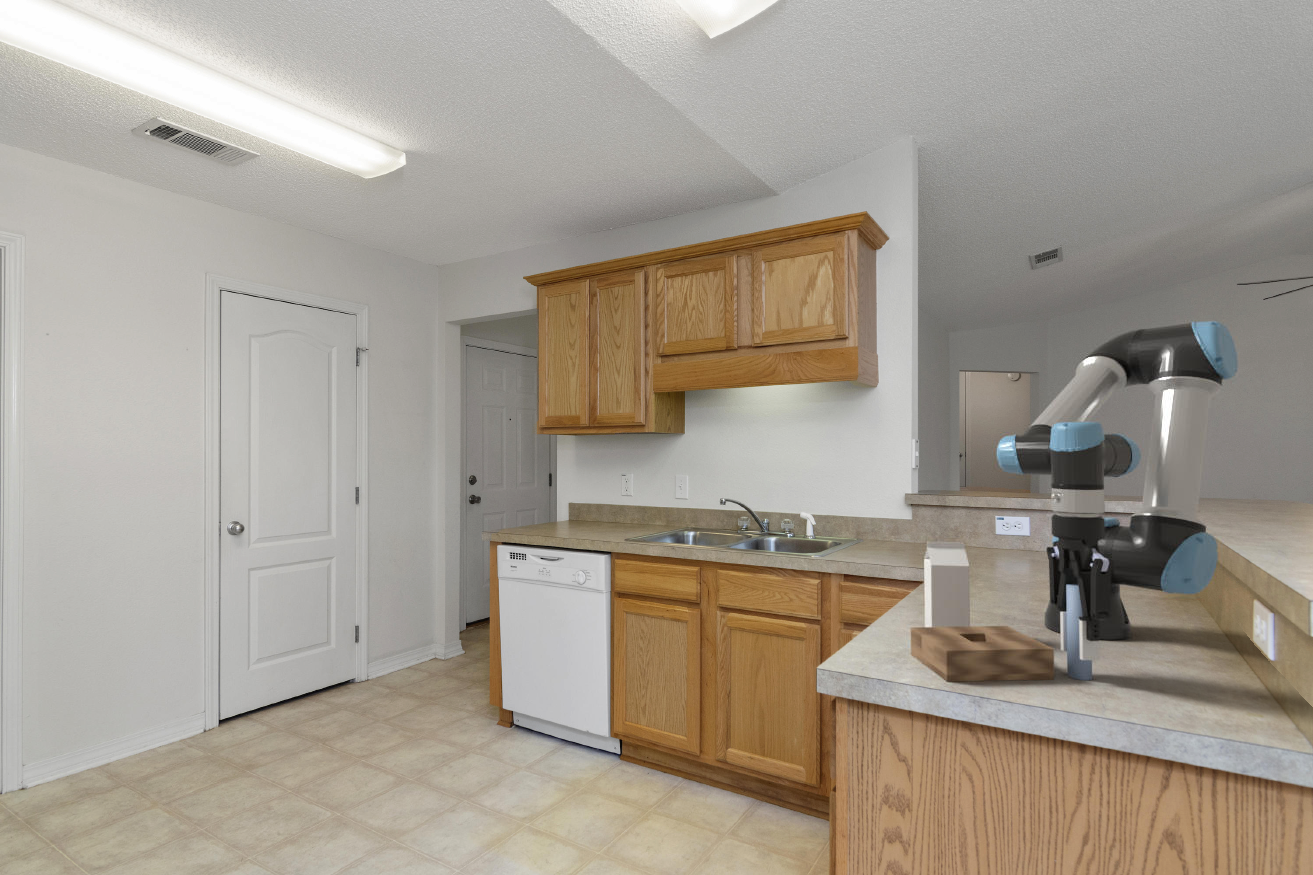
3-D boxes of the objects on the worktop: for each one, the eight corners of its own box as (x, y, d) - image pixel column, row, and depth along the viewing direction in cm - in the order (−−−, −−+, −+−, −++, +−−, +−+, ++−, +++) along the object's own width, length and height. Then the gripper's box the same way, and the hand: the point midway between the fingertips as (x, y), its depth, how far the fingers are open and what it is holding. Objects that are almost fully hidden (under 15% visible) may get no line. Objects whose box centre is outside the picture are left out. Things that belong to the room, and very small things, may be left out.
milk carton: (970, 642, 131) (969, 545, 131) (931, 640, 132) (930, 544, 133) (961, 632, 138) (960, 540, 138) (924, 630, 139) (923, 539, 140)
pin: (1082, 672, 113) (1081, 583, 114) (1097, 679, 110) (1096, 588, 110) (1062, 673, 113) (1061, 584, 113) (1076, 680, 110) (1075, 588, 110)
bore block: (1006, 652, 124) (1006, 625, 124) (1054, 679, 110) (1053, 648, 110) (911, 654, 124) (910, 627, 124) (946, 681, 110) (946, 650, 110)
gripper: (1025, 509, 120) (1026, 640, 120) (1090, 520, 103) (1093, 672, 103) (1066, 509, 121) (1067, 639, 120) (1138, 519, 103) (1140, 671, 103)
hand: (1079, 654), depth 112 cm, fingers open, 4 cm apart
